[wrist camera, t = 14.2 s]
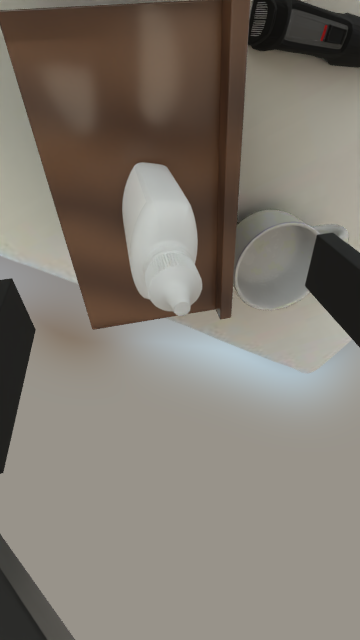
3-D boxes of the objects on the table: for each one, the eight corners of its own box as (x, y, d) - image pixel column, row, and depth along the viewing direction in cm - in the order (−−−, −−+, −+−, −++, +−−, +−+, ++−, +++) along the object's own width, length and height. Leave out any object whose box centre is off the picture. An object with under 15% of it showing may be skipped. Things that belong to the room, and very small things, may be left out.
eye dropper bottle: (98, 221, 22) (98, 336, 13) (143, 147, 20) (182, 223, 11) (150, 252, 24) (181, 369, 15) (196, 189, 22) (266, 281, 13)
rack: (37, 30, 26) (-14, 6, 14) (184, 21, 27) (251, -7, 15) (94, 254, 38) (92, 341, 27) (191, 241, 40) (231, 317, 28)
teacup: (219, 285, 45) (238, 320, 39) (211, 210, 38) (232, 239, 32) (314, 260, 45) (347, 291, 39) (323, 182, 38) (365, 205, 32)
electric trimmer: (380, 79, 33) (403, 81, 31) (242, 47, 29) (256, 46, 26) (401, 30, 31) (427, 28, 28) (254, -11, 27) (270, -18, 24)
